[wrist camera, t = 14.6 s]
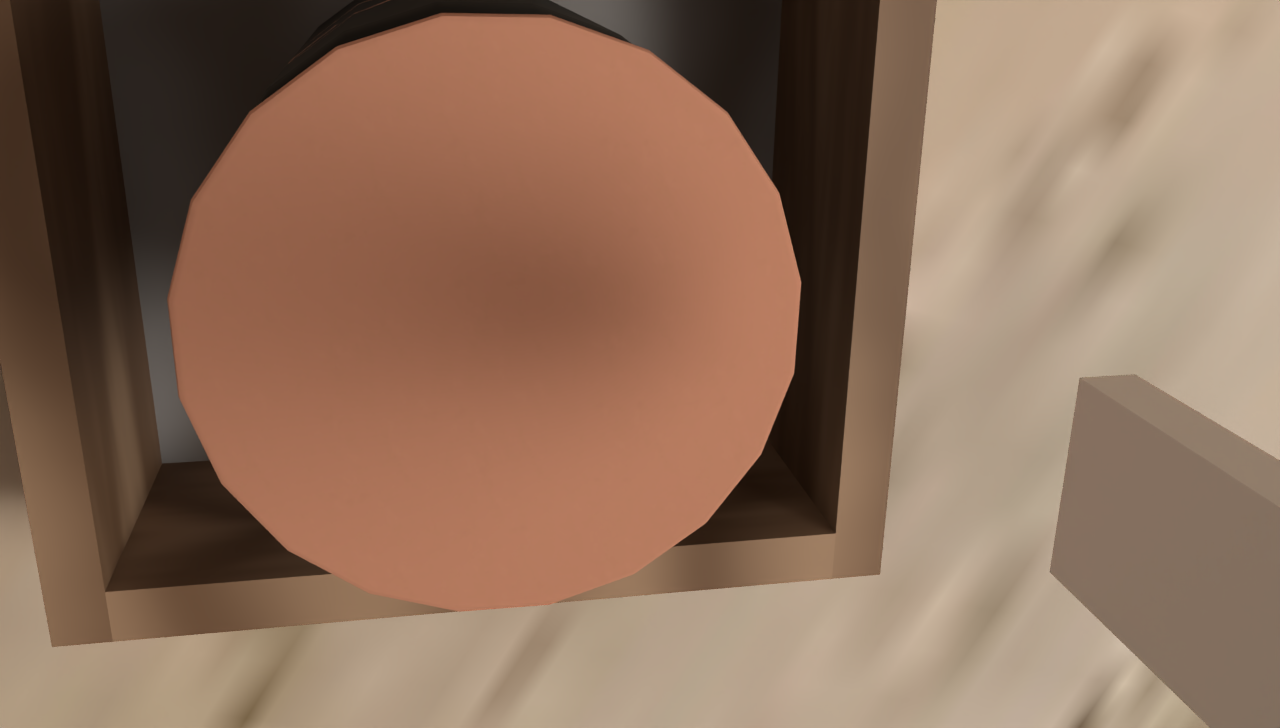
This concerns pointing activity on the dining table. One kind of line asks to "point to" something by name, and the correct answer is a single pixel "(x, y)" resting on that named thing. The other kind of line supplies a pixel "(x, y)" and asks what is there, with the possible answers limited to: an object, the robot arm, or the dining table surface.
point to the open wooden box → (188, 149)
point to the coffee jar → (482, 304)
